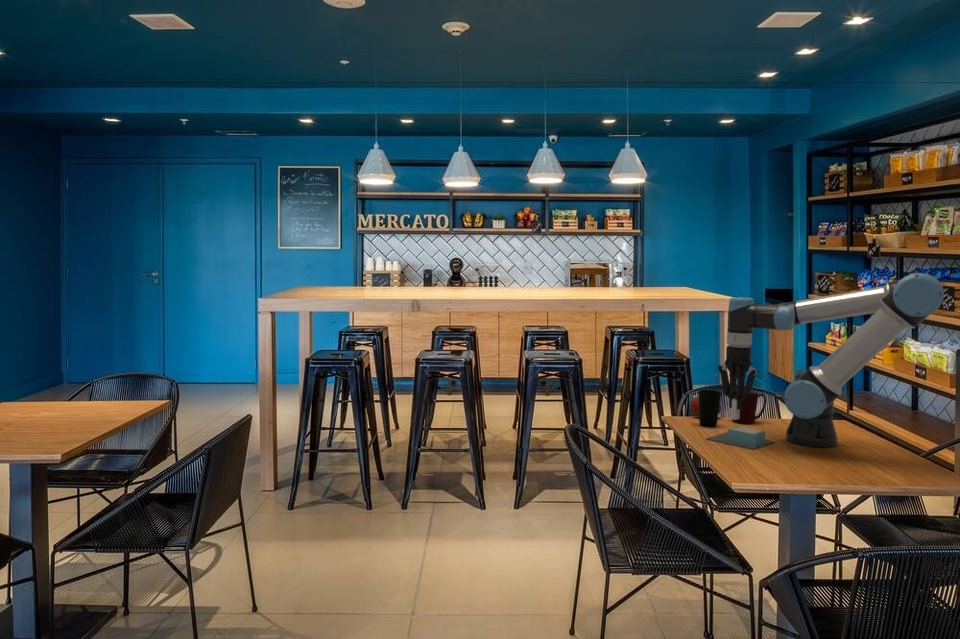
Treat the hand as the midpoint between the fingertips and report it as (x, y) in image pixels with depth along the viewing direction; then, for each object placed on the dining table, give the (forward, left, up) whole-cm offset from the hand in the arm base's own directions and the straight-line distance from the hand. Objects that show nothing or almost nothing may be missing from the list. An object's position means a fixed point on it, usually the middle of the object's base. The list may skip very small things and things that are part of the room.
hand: (735, 418), depth 235 cm
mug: (-29, -10, -7) cm, 31 cm away
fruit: (-24, -24, -7) cm, 35 cm away
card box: (0, 0, -5) cm, 5 cm away
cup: (-12, -16, -7) cm, 21 cm away
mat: (0, +2, -7) cm, 7 cm away
